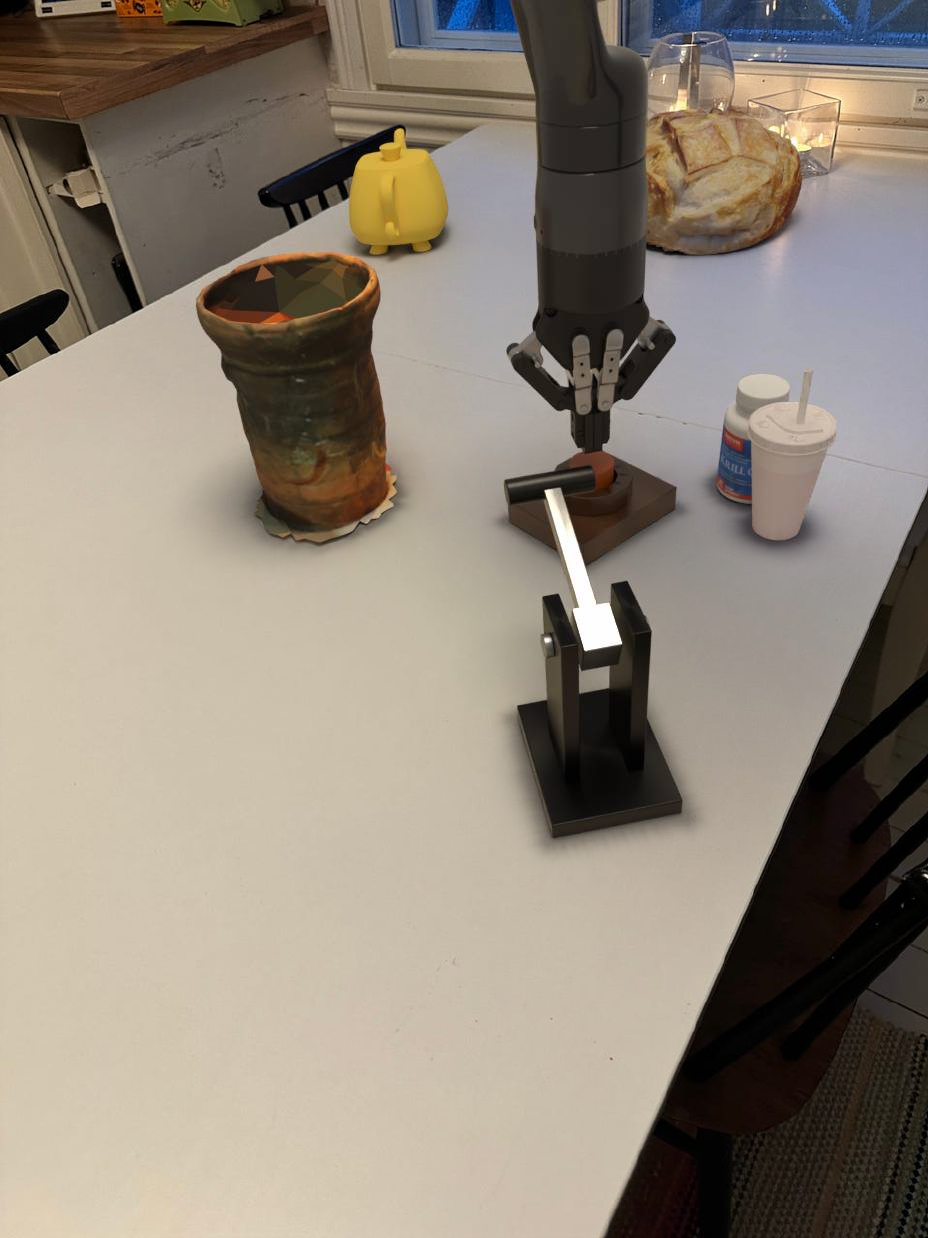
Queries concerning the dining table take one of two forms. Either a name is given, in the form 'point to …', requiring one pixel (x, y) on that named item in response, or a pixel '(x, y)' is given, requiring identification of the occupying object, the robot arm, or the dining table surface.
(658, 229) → the bread
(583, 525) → the button block
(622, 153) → the robot arm
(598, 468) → the button
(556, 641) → the switch bracket
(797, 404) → the smoothie
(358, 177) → the teapot
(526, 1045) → the dining table surface
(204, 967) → the dining table surface
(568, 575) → the switch
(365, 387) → the vessel
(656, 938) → the dining table surface
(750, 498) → the pill bottle
